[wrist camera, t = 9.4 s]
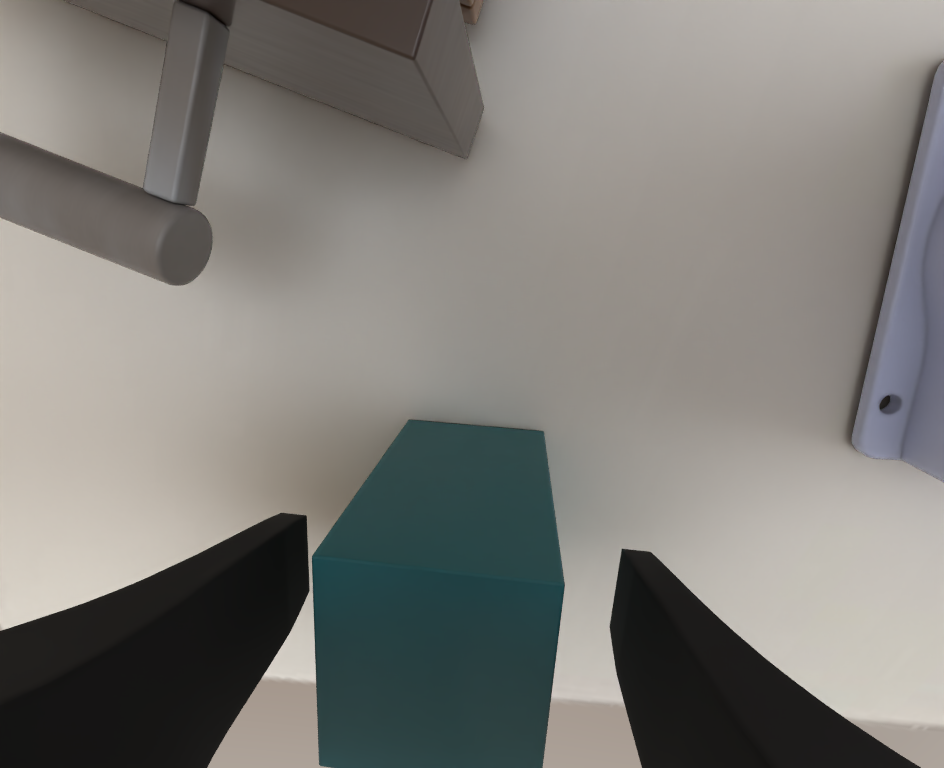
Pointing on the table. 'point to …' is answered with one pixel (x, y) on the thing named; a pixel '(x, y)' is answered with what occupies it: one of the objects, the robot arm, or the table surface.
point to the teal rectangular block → (441, 605)
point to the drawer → (194, 98)
